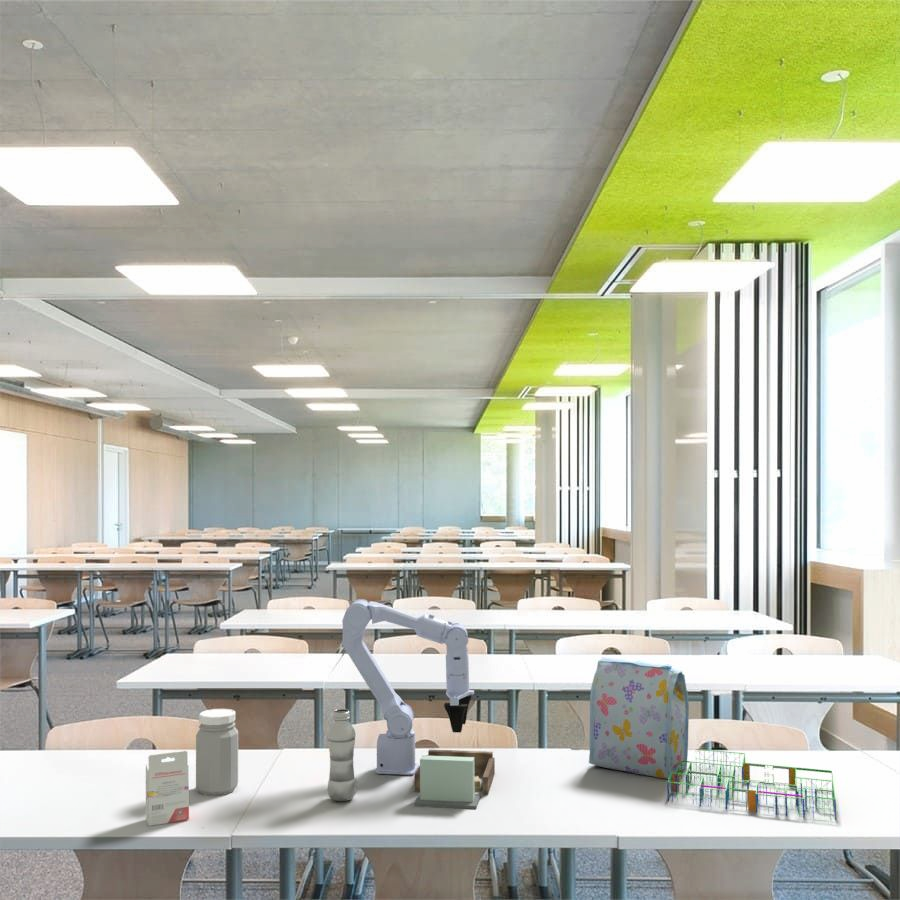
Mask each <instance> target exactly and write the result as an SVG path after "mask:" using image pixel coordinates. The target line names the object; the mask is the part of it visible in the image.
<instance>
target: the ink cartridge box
mask: <svg viewBox="0 0 900 900" xmlns="http://www.w3.org/2000/svg"><path fill="white" fill-rule="evenodd" d="M167 758H170V759H174V760H170V761H162V760H165V759H167ZM188 758H189V757H188V751H186V750H183V751H182V750H181V751H174V752H172V751H171V752H165V753H157V754H150V755H149V756H148V764H147V763H146V764H145V821H146V823H147V826H157V825H164V824H165V825H166V824H170V823H177V822H182V821H188V820H190V814H189V813H190V801H189V800H190V799H189V798H190V793H189V792H190V790H189V789H190V788H189V787H190V783H189V782H190V780H189V779H190V778H189V775H190V774H189V771H190V769H189V765H188V763H189V762H188V761H189V760H188Z"/></svg>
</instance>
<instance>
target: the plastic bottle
mask: <svg viewBox="0 0 900 900" xmlns="http://www.w3.org/2000/svg"><path fill="white" fill-rule="evenodd" d="M332 719H333V723H332V724H331V726H330V728H329V730H328V732H327V742H328V743H327V744H328V749H329V750H328V752H329V774H328V775H329V777H328V781H327V783H328V784H327V795H328V797H329V798H330V800H332V801H336V802H346V801H349V800H352V799H354V798H355V797H354V796H355V795H356V790H357V785H356V784H357V783H356V779H355V778H356V777H355V769H354V768H355V767H354V752H355V751H354V750H355V742H356V729H355V728H354V726H353V725H352V724H351V722H350V719H351V716H350V709H348V708H339V709H334V710H333V718H332Z"/></svg>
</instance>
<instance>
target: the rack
mask: <svg viewBox="0 0 900 900" xmlns="http://www.w3.org/2000/svg"><path fill="white" fill-rule="evenodd" d="M493 752H494V751H483V750H482V751H480V750H478V751H477V750H456V749H455V750H454V749H428V751H427V753H428V754H425V756H453V757H474V767H475V774H483V775H482V795H484V796H485V795H487V796H488V795H489V793H490V790H491V787H492V783H493V780H494V777H495V774H496V771H495V770H496V769H495V766H496V765H495V764H496V763H495V760H496V759H495V758H496V757H494V753H493ZM413 776H414V793H420V765H419V767H418V768H417V770H416V772H415V773H414V775H413Z"/></svg>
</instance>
